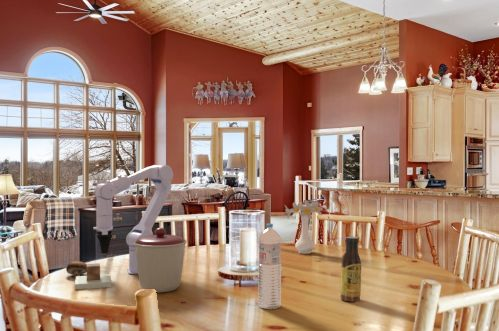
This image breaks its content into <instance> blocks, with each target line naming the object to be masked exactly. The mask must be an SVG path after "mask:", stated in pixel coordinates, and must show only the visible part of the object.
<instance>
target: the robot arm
mask: <svg viewBox="0 0 499 331" xmlns="http://www.w3.org/2000/svg"><path fill="white" fill-rule="evenodd" d="M147 178H148V179H150V181H151V182H152V183H153V185H154V186H155V192H154V194H153V196H152V197H151V199H150V202H149V203H148V205H147V207H146V209H145V211H144V212H143V214H142V217H141V219H140V221H139V223H138V224H136V225H134V227H133V228H132V230H131V231H130V232H129V233H128V234H127V235H126V238H125V242H126V245H128V255H129V256H128V263H129V264H128V268H127V272H128V275H134V274H135V275H136V274H137V275H138V267H137V257H136V248H135V245H134V244H133V242H134V241H136V240H137V239H138V238H140V237H144V236H149V235H154V234H153V231H152V229H153V227H154V225H155V223H156V221H157V218H158V217H159V215H160V213H161V211H162V209H163V207H164V204H165V203H166V201H167V199H168V196H169V195H170V193H171V191H172V180H173V178H174V172H173V170H172V168H171V166H169V165H167V164H163V165H159V164H153V165H151V166H146V167H145V168H142V169H140V170H139V171H136V172H134V173H132V174H130V175H128V176H126V175H122V174H118V175H116V177H115V178H112V179H111V180H109V179H107V180H106V181H105V183H98V184H97V185H96V186H95V187H94V190H93V195H94V196H95V198H96V226H93V230H95V231H96V238H97V240H98V241H99V242H98V243H99V246H100V252H101V254H108V253H109V247H110V243H111V240H112V238H113V235H114V234H112V233H113V229H114V226H113V198H114V197H115V195H118V194H120V193H122V192H125V191H127V190H129V189H130V188H131V185H132V184H135V183H139V182H140V181H142V180H145V179H147Z"/></svg>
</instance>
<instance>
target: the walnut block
mask: <svg viewBox="0 0 499 331" xmlns="http://www.w3.org/2000/svg"><path fill="white" fill-rule="evenodd" d="M86 264H87V272H86V276H87V281H91V280H100V275H101V264H100V263H99V262H98V263H96V262H95V263H86Z"/></svg>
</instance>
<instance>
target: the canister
mask: <svg viewBox="0 0 499 331" xmlns="http://www.w3.org/2000/svg"><path fill="white" fill-rule="evenodd" d="M187 243H188V240H187V239H186V238H184V237H182V236H179V235H176V234H166V229H165V228H164V227H158V228H156V229H155V231H154V234H153V235H149V236H144V237H140V238H138V239H137V240H136V241H134V242H133V244H134V245H135V248H136V257H137V267H138V274H137V275H138V281H139V284H140V287H141V289H142V290H143V289H155V290H156V291H157V293H156V294H158V293H159V294H160V293H168V292H173V291H176V290H177V289H178V288H179V287H180V284H181V280H182V275H183V274H182V273H183V266H184V257H185V248H186V246H185V245H186V244H187Z"/></svg>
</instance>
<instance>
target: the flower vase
mask: <svg viewBox="0 0 499 331" xmlns="http://www.w3.org/2000/svg"><path fill="white" fill-rule="evenodd" d="M284 207H285V209H284V210H285V213H286V214H287V216H286V217H287V220H289V219H290V215H291V213H292V215H291V216H292V217H293V218H294V217H296V215H297V214H299V213H300V218H301V233H300V236H299V238H298V240H297V241H296V243H295V244H294V245H295V246H294V247H295V249H296V250H297V251H298V253H299V254H303V255H304V254H305V255H307V254H312V251H313V250H314V249H315V247H316V246H315V243H314V241H313V240H312V239H311V237H310V232H309V220H312V213H313V214H314V213H318V214H319V215H320V216H323V213H322V212H321V211H323V210H324V209H323V207H322V206H319V201H318V200H316V201H312V202H308V200H305V201H304V204H303V201H300V202H299V203H298V204H297V203H296V202H293V203H292V208H288V207H287V205H284Z"/></svg>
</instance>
